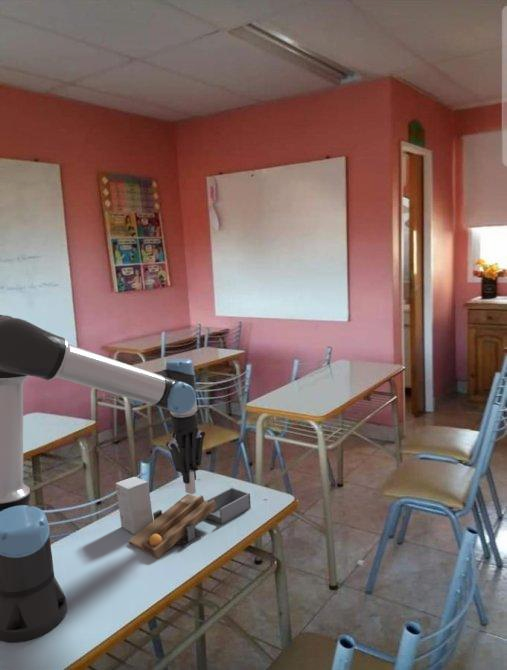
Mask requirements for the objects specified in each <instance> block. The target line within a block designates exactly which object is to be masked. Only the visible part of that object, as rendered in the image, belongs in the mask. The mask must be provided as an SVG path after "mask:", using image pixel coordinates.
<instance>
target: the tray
mask: <svg viewBox="0 0 507 670" xmlns="http://www.w3.org/2000/svg"><path fill="white" fill-rule="evenodd" d="M212 500H215V503H216V507H217V508H216V509H215V510H214V511H213V512H211V513H210V514H209V515H208V516H207V517H205V519H206V518H207V519H209V520H210V521H214V522H216V523H218V524H221V525H224V524H225V523H227V522H229V521H231V520H232V519H234V518H235V517H237V516H239V515H241V514H243V513H244V512H246V511H248V510H249V508H250V509H251V508H252V506H251V493H249V492H246V491H243V490H240V489H238V488H234V487H230V488H228V489H226V490H224V491H222V492H221V493H219V494H216V495H215V496H212V497H211V498H208V499H206V500H205V501H207V502H211V501H212ZM247 509H248V510H247Z"/></svg>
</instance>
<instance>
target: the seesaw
mask: <svg viewBox="0 0 507 670" xmlns="http://www.w3.org/2000/svg"><path fill="white" fill-rule="evenodd" d="M216 508H217V507H216V503H215V500H212V501H211V502H207V501H206V500H205V497H204V495H199V496H198V497H197V496H195V495H194V494H190V493H187V494H186V495H184V496H183V497H182V498H181V499H179V500H178V501H177V502H175V503H174V504H173V505H171V506H170V507H169V508H168V509H167V510H166V511H164V512H162V514H161V515H160V516H159V517H158V518H156V519H155V520H154V519H153V521H152V522H151V523H150V524H149V525H147V526H146V527H145V528H144V529H142V530H141V531H140V532H139V533H136V534H134V535H133V536H132V537H131V538H130V539H128V544H129V545H131V546H133V547H135V548H137V549H139V550H140V551H142V552H144V553H146V554H147V555H150V556H152V557H154V558H156V559H159V558H160V557H161V556H162V555H163V554H164V553H166V552H167V551H169V549H170V548H172V547H173V546H174V545H175V544H176V542H177V541H179V540H180V539H181V538H182V537H183V536H184V535H186V531H185V527H187V526H189V525H191V524H194V528H196V526H197V525H198V524H200V523H201V522H202V521H203V520H204V519H206V517H207V516H208V515H209V514H210V513H211V512H213V511H214V510H215V509H216ZM153 534H159V535H160V536H161V538H162V542H161V543H160V544H159V545H158V546H156V547H155V546H153V545H151V544H150V543H149V539H150V537H151V536H152V535H153Z"/></svg>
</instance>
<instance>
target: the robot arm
mask: <svg viewBox="0 0 507 670" xmlns="http://www.w3.org/2000/svg"><path fill="white" fill-rule="evenodd" d="M195 376H196V373H195V367H194V363H193V361H192V360H191V359H189V358H185V357H184V358H181V357H180V358H173V359H170V360H168V361H166V364H165V369H162V370H158V371H154V372H152V371H150V370H146V369H144V368H140V367H137V366H135V365H131V364H129V363H125V362H123V361H120V360H117V359H113V358H110V357H107V356H104V355H102V354H98V353H96V352H93V351H89V350H86V349H83V348H80V347H78V346H75V345H72V344H69V343H68V340H67V339H66V338H65V337H62V336H58V335H57V334H54V333H52V332H49V331H47V330H45V329H43V328H42V327H39V326H37V325H35V324H33V323H31V322H30V321H27V320H25V319H22V318H18V317H17V318H16V317H13V316H11V315H6V314H5V315H4V314H0V641H2V642H7V643H9V642H10V643H19V642H25V641H29V640H34V639H36V638H39V637H40V636H43V635H45V634H47V633H48V632H50V631H52V630H53V629H55V628H56V627H57V626H58V625H59V624H60V623H61V622H62V621H63V619H64V618H65V616H66V614H67V611H68V605H67V598H66V595H65V593H64V591H63V589H62V588H61V585H60V583H59V582H58V581H57V578H56V576H55V571H54V562H53V553H52V544H51V535H50V524H49V522H48V518H47V517H48V516H47V515H46V513H45V511H43V510H42V509H41V508H39V507H37V506H34V505H32V506H31V488H30V487H29V486H28V485H26V484H25V483H24V382H25V380H27V379H29V377H35V378H40V379H43V380H47V381H52V380H54V379H56V378H57V379H61V380H63V381H64V380H65V381H68V382H71V383H73V384H79V385H82V386H86V387H89V388H92V389H94V390H99V391H103V392H105V393H109V394H112V395H117V396H120V397H123V398H127V399H128V400H129V403H130V404H132V405H133V406H138V405H144V404H148V405H151V406H154V407H157V408H161V409H164V410H168V411H169V413H170V414H171V416H170V420H171V421H170V422H171V428H172V431H173V432H172V439H171V440H170V442H169V441H167V442H166V444H165V446H166V447H167V448H168V450H169V453H170V456H171V459H172V462H173V465H174V468H175V471H176V472H178V473H181V474H182V481H183V483H184V488H185V490H184V491H185V493H187V494H190V495H194V494H195V493H197V492H196V490H197V489H196V480H197V471H199V467H200V466H201V465H202V464H201V463H202V455H203V445H204V439H205V436H206V432H205V431H202V430H199V427H198V426H199V415H198V413H197V411H198V403H197V392H196V379H195Z"/></svg>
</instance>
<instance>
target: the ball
mask: <svg viewBox="0 0 507 670" xmlns="http://www.w3.org/2000/svg"><path fill="white" fill-rule="evenodd" d="M161 542H162V538H161V536H160V535H159V534H153V535H152V536H151V537H150V539H149V543H150V544H151V545H153V546H155V547H156V546H158V545H159V544H160V543H161Z"/></svg>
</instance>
